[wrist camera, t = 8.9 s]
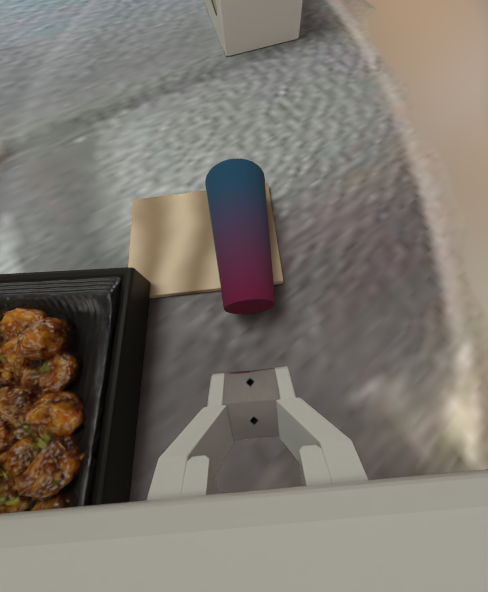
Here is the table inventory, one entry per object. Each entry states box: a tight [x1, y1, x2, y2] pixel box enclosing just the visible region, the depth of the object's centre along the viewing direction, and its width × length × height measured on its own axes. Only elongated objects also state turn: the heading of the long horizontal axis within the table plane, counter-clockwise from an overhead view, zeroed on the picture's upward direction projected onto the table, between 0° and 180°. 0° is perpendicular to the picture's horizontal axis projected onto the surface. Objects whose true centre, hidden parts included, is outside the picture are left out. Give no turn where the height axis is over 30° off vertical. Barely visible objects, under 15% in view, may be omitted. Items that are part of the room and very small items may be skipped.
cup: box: [206, 159, 275, 314], centre depth 27 cm, size 7×7×15 cm
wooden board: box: [128, 183, 283, 298], centre depth 32 cm, size 18×14×1 cm
